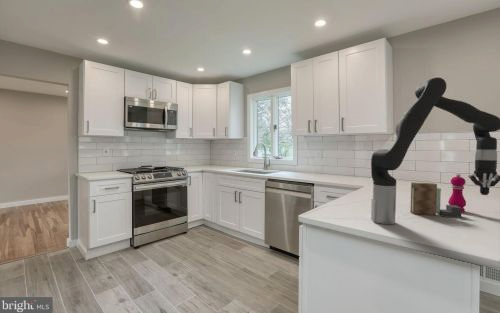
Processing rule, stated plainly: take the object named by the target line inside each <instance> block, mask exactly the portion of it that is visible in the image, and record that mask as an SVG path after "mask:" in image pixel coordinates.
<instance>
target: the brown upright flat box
mask: <svg viewBox="0 0 500 313" xmlns="http://www.w3.org/2000/svg"><path fill="white" fill-rule="evenodd" d="M437 188H438V183H434V182H415V181H414V182H411V185H410V190H411V191H410V207H409V208H410V214H412V215H419V216H420V215H421V216H437V215H436V214H437V213H436V199H437ZM412 190H413V211H412Z"/></svg>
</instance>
